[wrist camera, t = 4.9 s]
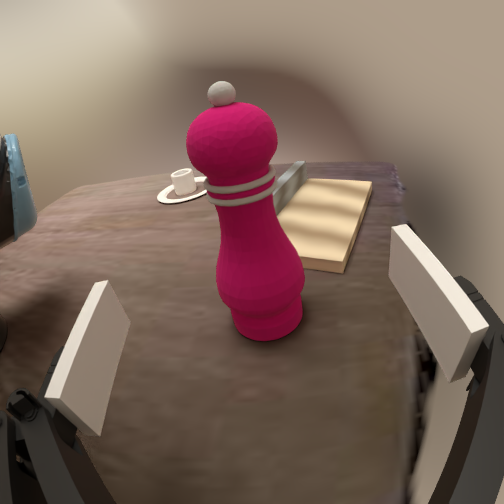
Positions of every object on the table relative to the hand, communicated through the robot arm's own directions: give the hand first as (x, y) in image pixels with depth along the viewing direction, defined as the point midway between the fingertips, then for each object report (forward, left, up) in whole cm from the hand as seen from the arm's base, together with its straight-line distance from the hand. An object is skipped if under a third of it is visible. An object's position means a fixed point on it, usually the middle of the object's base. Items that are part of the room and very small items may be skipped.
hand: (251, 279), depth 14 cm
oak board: (+27, +6, -12) cm, 30 cm away
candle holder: (+35, +34, -13) cm, 50 cm away
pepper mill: (+9, +5, -12) cm, 16 cm away
